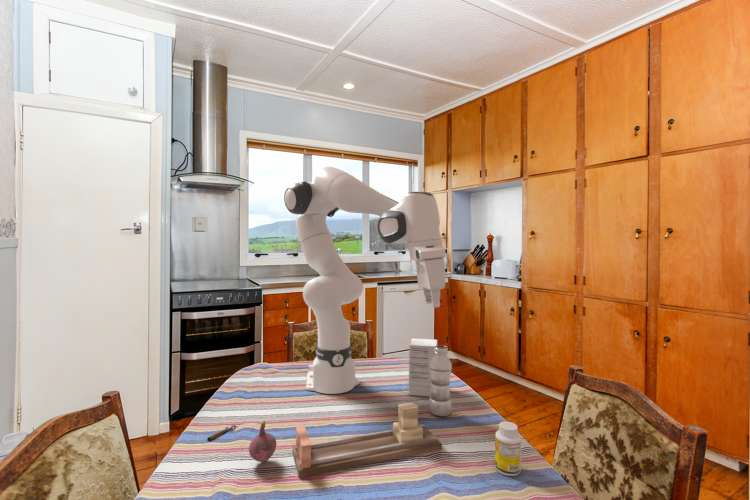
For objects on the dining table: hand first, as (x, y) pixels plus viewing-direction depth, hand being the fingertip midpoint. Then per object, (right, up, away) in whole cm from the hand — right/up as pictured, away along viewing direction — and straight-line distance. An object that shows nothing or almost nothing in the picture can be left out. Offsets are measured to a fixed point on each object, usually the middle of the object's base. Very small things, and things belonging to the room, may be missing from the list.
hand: (432, 305), depth 100 cm
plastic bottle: (+4, -35, +14) cm, 37 cm away
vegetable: (-41, -35, -12) cm, 55 cm away
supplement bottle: (+15, -36, -13) cm, 41 cm away
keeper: (-7, -33, -3) cm, 34 cm away
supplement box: (+1, -34, +31) cm, 46 cm away
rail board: (-17, -35, -7) cm, 39 cm away
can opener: (-55, -34, +1) cm, 65 cm away
